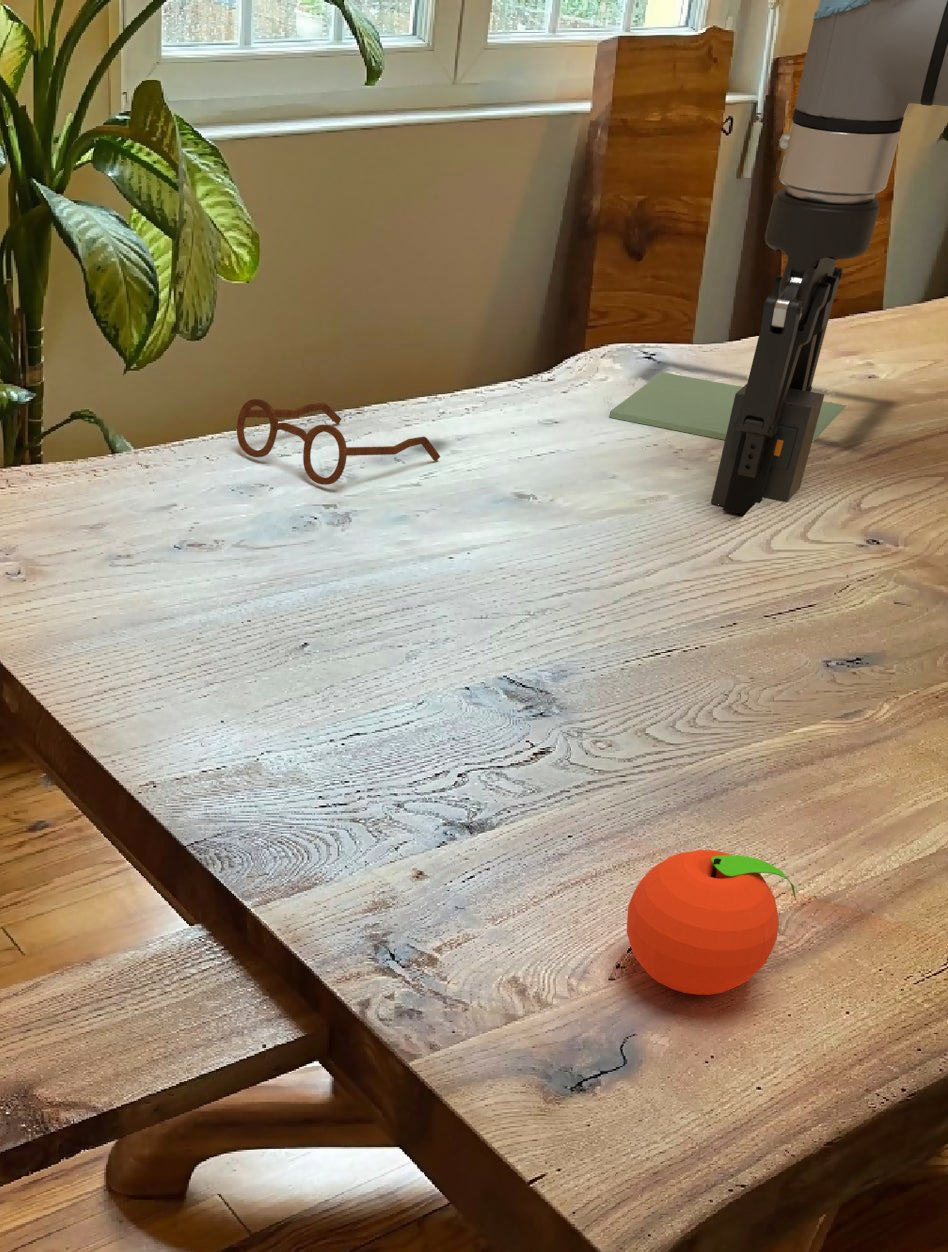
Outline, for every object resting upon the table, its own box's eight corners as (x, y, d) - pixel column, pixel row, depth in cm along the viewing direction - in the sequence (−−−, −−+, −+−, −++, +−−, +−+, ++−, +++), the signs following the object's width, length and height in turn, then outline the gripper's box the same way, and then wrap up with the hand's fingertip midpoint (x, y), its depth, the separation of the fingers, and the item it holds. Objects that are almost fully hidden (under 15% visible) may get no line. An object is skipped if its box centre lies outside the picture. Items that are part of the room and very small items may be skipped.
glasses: (232, 453, 130) (233, 395, 127) (338, 423, 137) (341, 367, 134) (336, 495, 122) (340, 435, 119) (442, 461, 129) (449, 403, 126)
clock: (795, 504, 123) (824, 393, 117) (781, 521, 120) (810, 408, 114) (724, 489, 125) (750, 380, 119) (709, 505, 122) (733, 394, 117)
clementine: (742, 929, 75) (777, 812, 71) (804, 1016, 70) (846, 895, 66) (593, 942, 74) (619, 823, 70) (645, 1031, 69) (676, 908, 65)
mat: (883, 418, 141) (885, 412, 140) (844, 463, 131) (846, 456, 130) (660, 378, 150) (662, 372, 149) (608, 417, 140) (609, 411, 139)
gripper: (810, 166, 116) (739, 459, 130) (741, 205, 103) (671, 525, 118) (908, 178, 113) (825, 477, 127) (850, 220, 100) (765, 547, 115)
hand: (751, 500), depth 122 cm, fingers open, 5 cm apart
